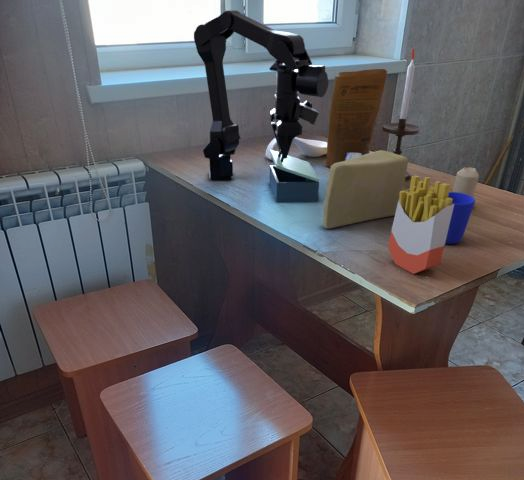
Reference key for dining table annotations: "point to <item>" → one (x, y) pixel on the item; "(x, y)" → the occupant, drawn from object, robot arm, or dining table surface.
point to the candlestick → (404, 114)
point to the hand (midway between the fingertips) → (283, 155)
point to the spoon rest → (303, 147)
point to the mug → (459, 216)
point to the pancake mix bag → (353, 113)
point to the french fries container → (421, 225)
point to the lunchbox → (292, 186)
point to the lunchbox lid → (293, 165)
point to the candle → (466, 181)
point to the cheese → (364, 188)
